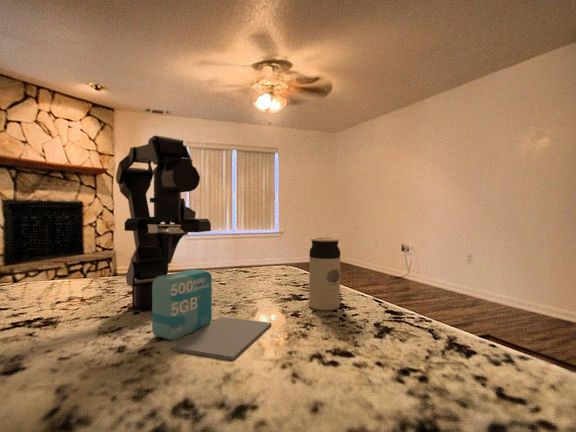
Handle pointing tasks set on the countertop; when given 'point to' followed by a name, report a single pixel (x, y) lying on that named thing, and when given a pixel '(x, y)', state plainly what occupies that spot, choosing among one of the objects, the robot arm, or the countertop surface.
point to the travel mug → (324, 274)
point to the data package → (181, 303)
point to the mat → (222, 338)
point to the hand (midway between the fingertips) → (167, 263)
